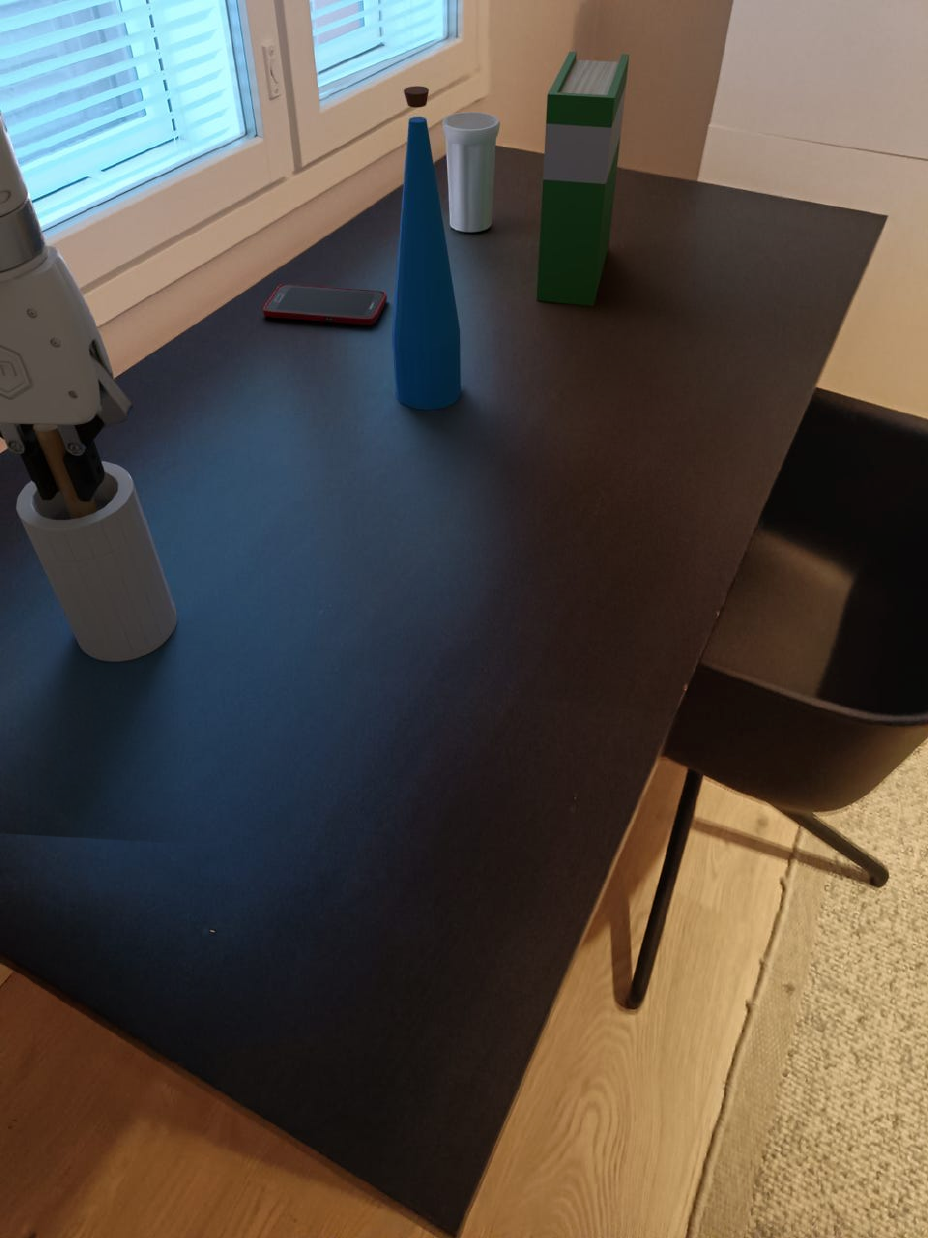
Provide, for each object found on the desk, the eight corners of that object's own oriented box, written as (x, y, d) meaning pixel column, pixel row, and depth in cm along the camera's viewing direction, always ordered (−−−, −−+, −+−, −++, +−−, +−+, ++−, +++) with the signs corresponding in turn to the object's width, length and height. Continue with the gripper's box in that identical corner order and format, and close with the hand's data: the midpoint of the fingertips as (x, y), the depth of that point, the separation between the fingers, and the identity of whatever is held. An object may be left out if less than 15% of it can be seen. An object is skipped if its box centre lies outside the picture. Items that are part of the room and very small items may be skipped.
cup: (487, 240, 129) (488, 133, 119) (435, 232, 131) (432, 126, 121) (505, 219, 135) (508, 114, 124) (455, 212, 137) (453, 108, 126)
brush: (85, 606, 72) (11, 438, 60) (101, 576, 74) (33, 408, 63) (129, 608, 71) (63, 439, 60) (143, 577, 74) (83, 410, 62)
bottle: (384, 387, 102) (360, 87, 80) (438, 368, 105) (430, 73, 83) (418, 417, 98) (403, 109, 76) (473, 396, 100) (474, 93, 78)
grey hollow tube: (62, 659, 73) (-4, 527, 63) (97, 590, 79) (42, 458, 69) (160, 664, 73) (110, 531, 63) (188, 594, 78) (147, 462, 68)
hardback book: (556, 244, 128) (569, 51, 111) (608, 248, 127) (629, 54, 110) (536, 300, 116) (547, 93, 99) (593, 305, 115) (614, 97, 98)
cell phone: (280, 290, 118) (279, 283, 118) (388, 298, 117) (388, 291, 116) (261, 317, 113) (260, 310, 112) (374, 327, 111) (373, 319, 111)
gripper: (-196, 261, 50) (-56, 518, 63) (82, 267, 49) (165, 526, 62) (-125, 208, 55) (-10, 456, 68) (127, 212, 54) (195, 462, 68)
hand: (73, 487), depth 65 cm, fingers closed on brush, 2 cm apart
